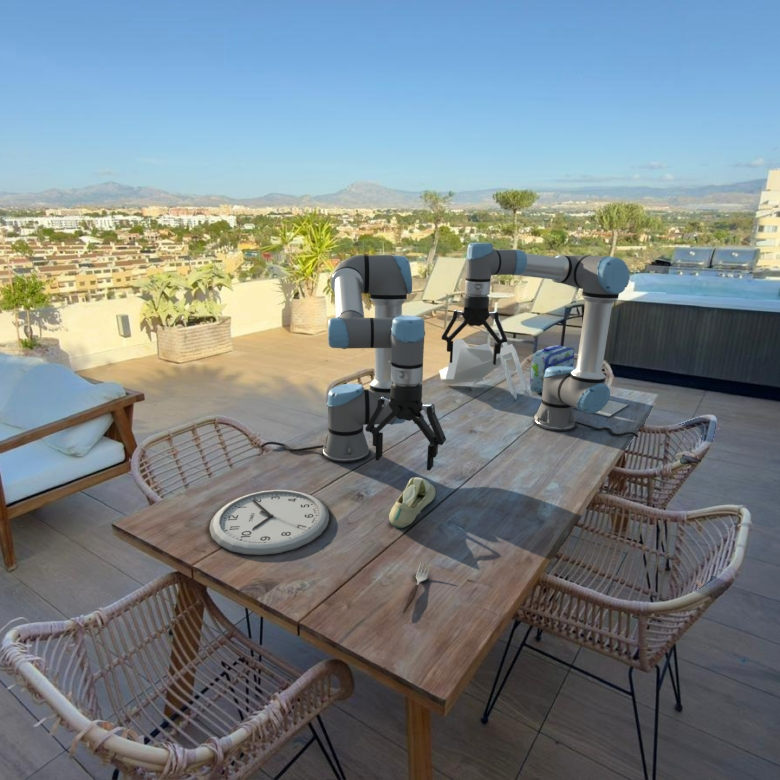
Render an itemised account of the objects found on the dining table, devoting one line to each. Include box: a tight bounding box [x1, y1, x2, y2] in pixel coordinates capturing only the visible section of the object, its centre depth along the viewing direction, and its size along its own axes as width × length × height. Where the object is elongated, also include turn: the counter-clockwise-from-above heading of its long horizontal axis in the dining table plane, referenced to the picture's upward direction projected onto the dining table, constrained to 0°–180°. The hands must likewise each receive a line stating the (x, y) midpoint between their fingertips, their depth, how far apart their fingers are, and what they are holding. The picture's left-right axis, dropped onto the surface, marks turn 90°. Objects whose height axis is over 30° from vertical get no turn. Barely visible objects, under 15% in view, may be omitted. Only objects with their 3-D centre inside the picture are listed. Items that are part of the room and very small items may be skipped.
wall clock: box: [209, 489, 330, 556], centre depth 135 cm, size 30×2×30 cm
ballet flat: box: [388, 476, 436, 529], centre depth 141 cm, size 8×25×8 cm, turn 160°
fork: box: [402, 559, 432, 614], centre depth 109 cm, size 3×16×2 cm, turn 160°
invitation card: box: [595, 399, 629, 418], centre depth 226 cm, size 21×1×15 cm
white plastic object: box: [438, 310, 531, 400], centre depth 245 cm, size 37×45×31 cm
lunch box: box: [529, 345, 575, 394], centre depth 245 cm, size 26×11×21 cm, turn 134°
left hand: (404, 463), depth 131 cm, fingers open, 13 cm apart
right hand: (472, 362), depth 166 cm, fingers open, 13 cm apart
